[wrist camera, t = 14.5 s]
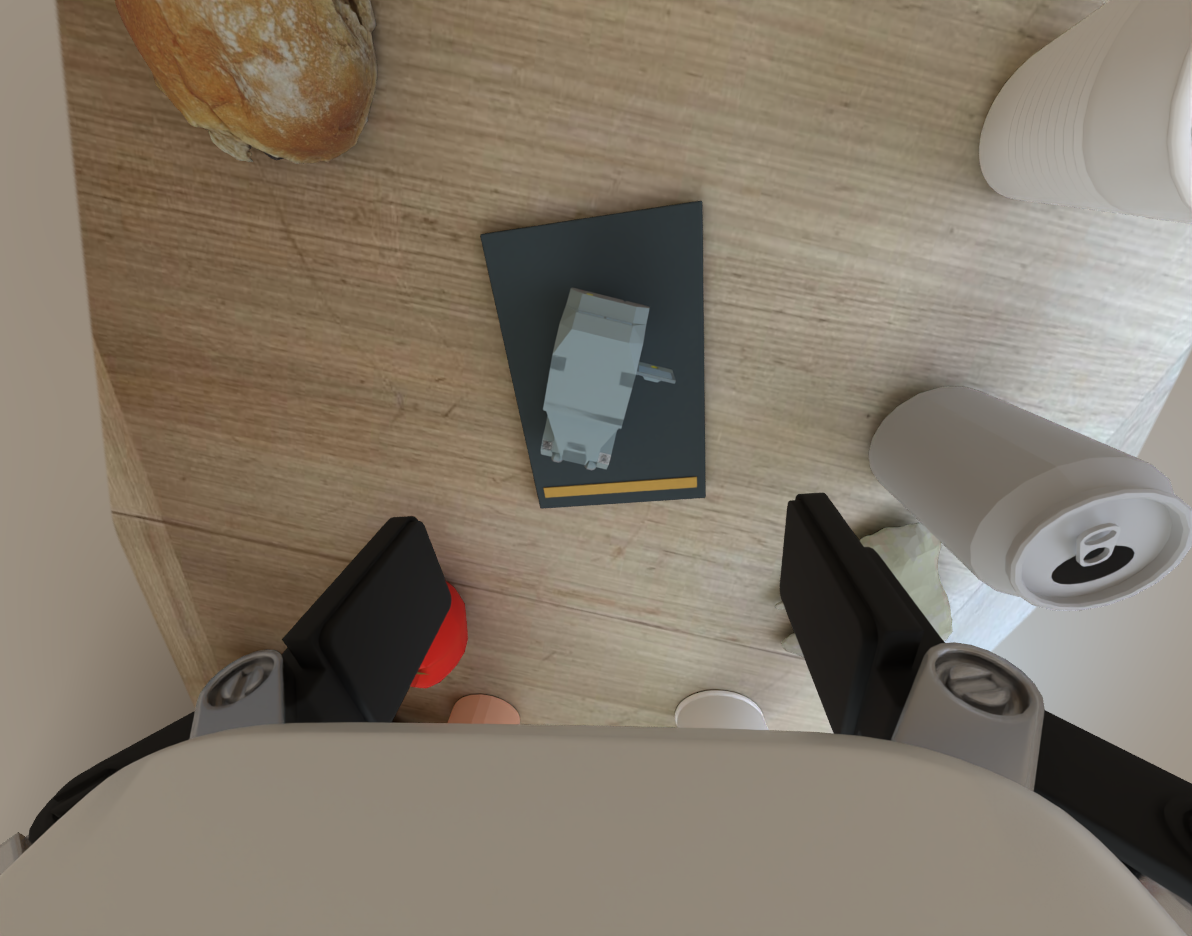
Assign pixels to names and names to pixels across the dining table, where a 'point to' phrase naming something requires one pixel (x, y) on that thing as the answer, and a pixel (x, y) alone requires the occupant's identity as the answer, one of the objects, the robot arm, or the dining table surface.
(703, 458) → the mat
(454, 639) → the tomato
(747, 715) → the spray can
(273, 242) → the dining table surface
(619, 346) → the toy car
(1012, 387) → the dining table surface
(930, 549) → the crumpled beige cloth
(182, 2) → the bread roll
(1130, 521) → the can
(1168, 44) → the cup
